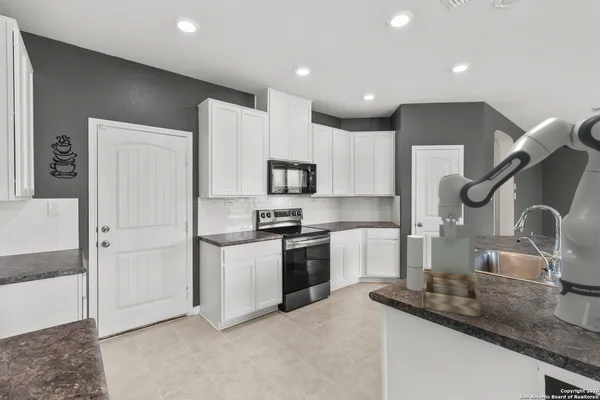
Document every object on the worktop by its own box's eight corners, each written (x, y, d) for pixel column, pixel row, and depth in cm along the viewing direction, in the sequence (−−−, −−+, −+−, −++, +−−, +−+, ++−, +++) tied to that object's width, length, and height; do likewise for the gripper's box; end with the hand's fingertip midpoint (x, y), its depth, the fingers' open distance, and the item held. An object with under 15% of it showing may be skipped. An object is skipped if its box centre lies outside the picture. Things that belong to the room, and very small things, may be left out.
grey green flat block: (468, 295, 117) (468, 238, 116) (468, 297, 115) (469, 239, 114) (431, 290, 123) (431, 236, 122) (431, 292, 121) (431, 237, 120)
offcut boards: (465, 306, 113) (466, 274, 113) (467, 312, 108) (468, 279, 107) (433, 301, 118) (433, 271, 118) (432, 307, 113) (433, 275, 112)
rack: (475, 302, 118) (475, 273, 117) (480, 317, 104) (481, 285, 103) (423, 294, 126) (423, 268, 126) (421, 307, 112) (422, 277, 112)
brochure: (468, 285, 138) (469, 224, 137) (474, 289, 133) (475, 226, 132) (438, 284, 140) (439, 224, 139) (443, 288, 134) (444, 225, 133)
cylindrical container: (421, 286, 137) (422, 235, 136) (424, 291, 130) (424, 237, 129) (406, 285, 139) (406, 235, 138) (407, 290, 132) (408, 237, 131)
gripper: (460, 215, 107) (460, 251, 108) (456, 211, 126) (456, 242, 126) (442, 214, 110) (441, 249, 110) (441, 211, 128) (440, 241, 129)
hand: (449, 245), depth 118 cm, fingers closed on grey green flat block, 2 cm apart
